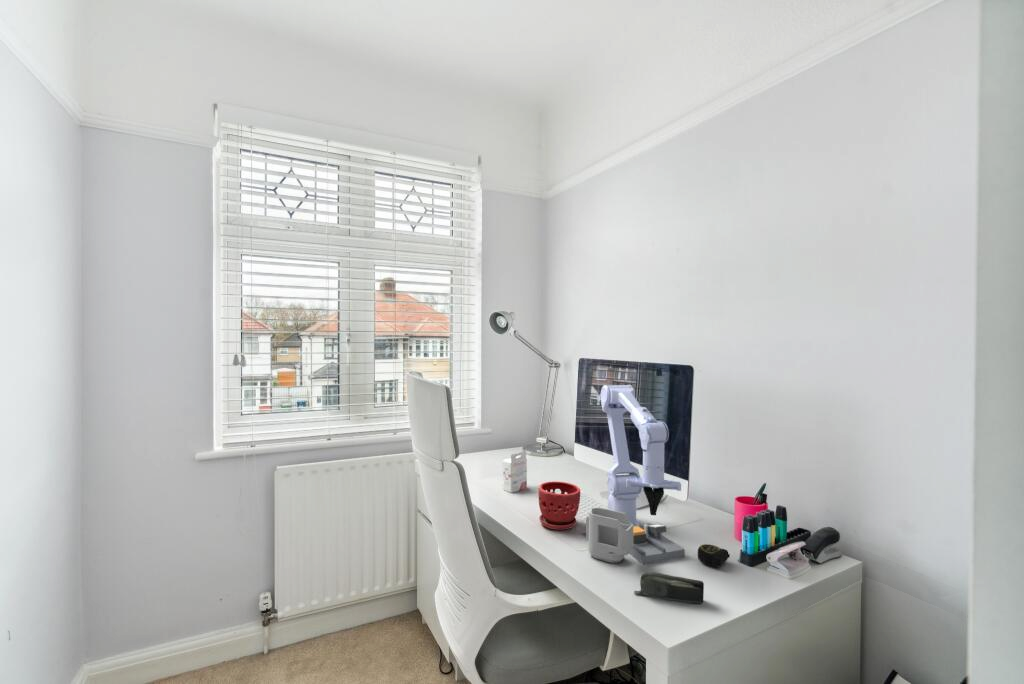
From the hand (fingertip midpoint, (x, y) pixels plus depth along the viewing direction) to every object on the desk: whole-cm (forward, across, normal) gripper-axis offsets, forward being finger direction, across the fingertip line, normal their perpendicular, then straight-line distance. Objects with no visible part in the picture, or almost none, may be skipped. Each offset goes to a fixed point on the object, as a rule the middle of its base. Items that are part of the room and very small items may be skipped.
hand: (653, 514), depth 130 cm
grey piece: (+10, -12, -8) cm, 17 cm away
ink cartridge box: (+10, -47, +43) cm, 65 cm away
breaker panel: (+10, -2, +1) cm, 10 cm away
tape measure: (+10, +15, -5) cm, 19 cm away
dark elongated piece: (+10, +1, -25) cm, 27 cm away
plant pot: (+10, -27, +12) cm, 31 cm away
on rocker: (+6, 0, +5) cm, 7 cm away
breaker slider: (+8, -5, 0) cm, 9 cm away
